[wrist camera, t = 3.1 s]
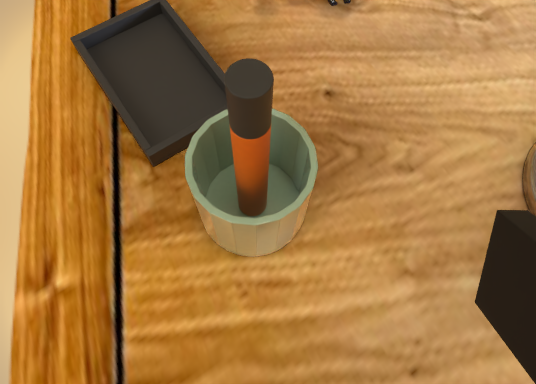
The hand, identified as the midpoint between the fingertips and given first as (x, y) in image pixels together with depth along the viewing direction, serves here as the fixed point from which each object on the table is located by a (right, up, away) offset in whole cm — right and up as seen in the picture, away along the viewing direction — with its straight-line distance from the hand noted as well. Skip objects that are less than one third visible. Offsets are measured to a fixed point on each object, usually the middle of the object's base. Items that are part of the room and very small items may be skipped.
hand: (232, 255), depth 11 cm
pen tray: (-10, +12, +31) cm, 35 cm away
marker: (0, +1, +26) cm, 26 cm away
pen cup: (0, 0, +26) cm, 26 cm away
